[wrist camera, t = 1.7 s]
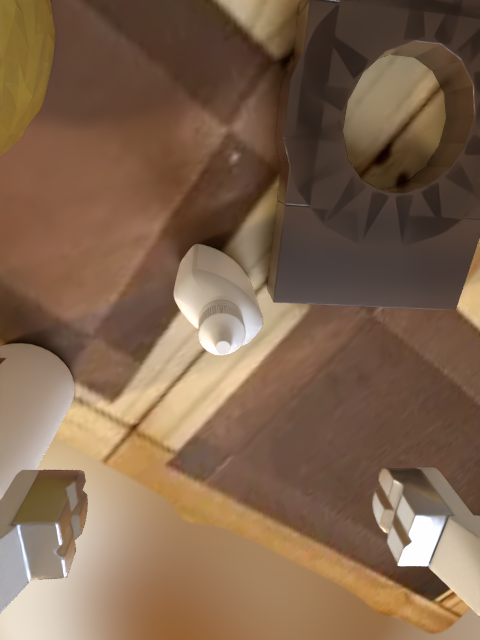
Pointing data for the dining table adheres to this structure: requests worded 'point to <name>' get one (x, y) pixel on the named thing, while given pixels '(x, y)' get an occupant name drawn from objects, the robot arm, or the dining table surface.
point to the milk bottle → (30, 406)
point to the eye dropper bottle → (217, 300)
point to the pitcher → (23, 64)
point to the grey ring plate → (344, 182)
